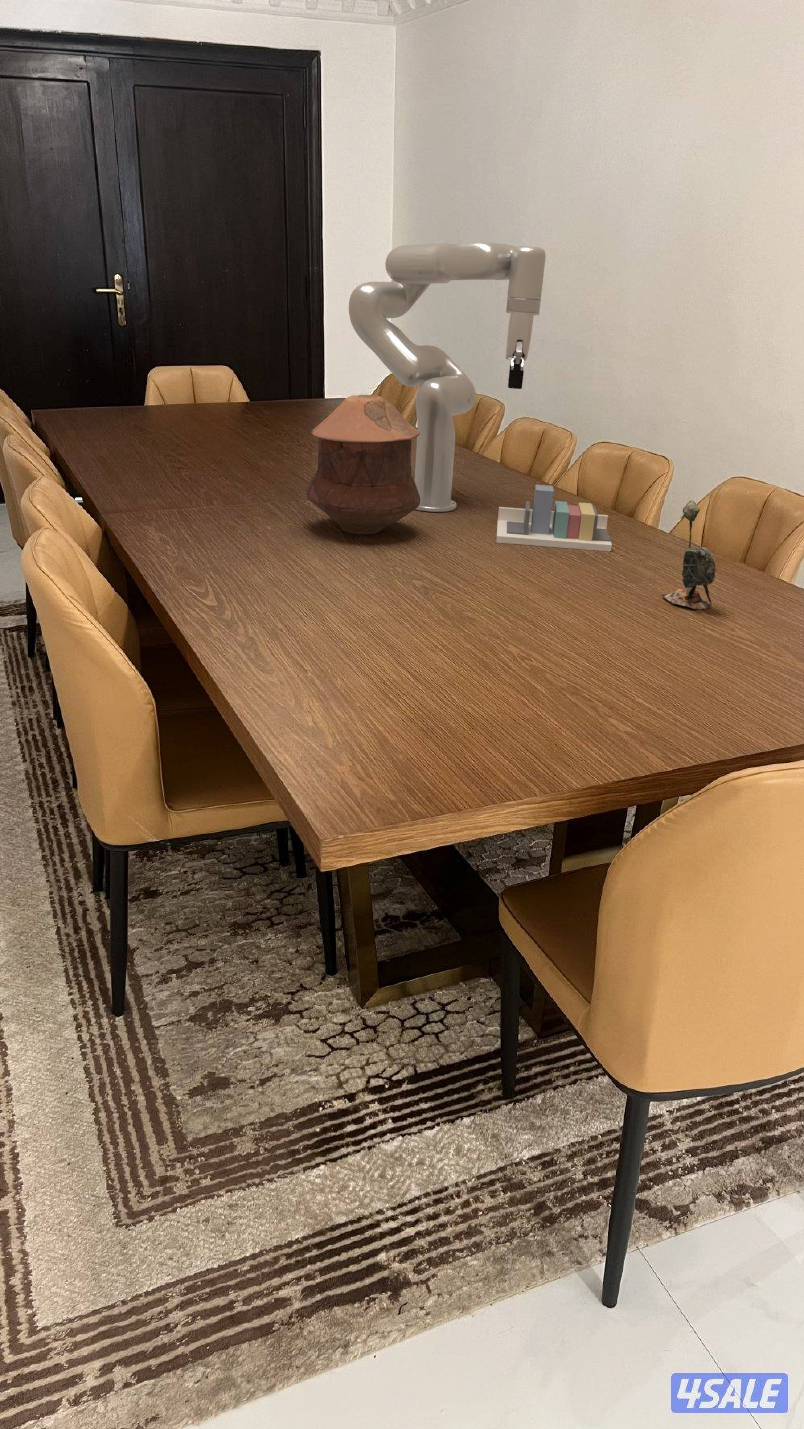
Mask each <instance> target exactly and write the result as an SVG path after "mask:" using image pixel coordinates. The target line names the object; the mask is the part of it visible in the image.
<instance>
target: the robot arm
mask: <svg viewBox="0 0 804 1429" xmlns="http://www.w3.org/2000/svg"><path fill="white" fill-rule="evenodd" d="M384 264H385V271H386V273H387V275H388V276H389V277H390V279H391V281H369V282H364V283H361V284H359V285H358V286H356V287H355V288H354V289H353V290H352V292H351V293H350V296H349V302H348V316H349V320H350V323H351V325H352V327H353V330H354V332H355V333H356V335H357V336H358V337H359V339H360V340H361V341H362V342H363V343H364V344H365V345H366V346H367V347H368V348H369V349H370V350H371V351H372V353H374V354H375V355H376V357H377V358H378V359H379V360H380V361H381V362H382V364H383V365H384V366H385V367H386V368H387V369H388V370H389V371H390V372H391V374H393V375H394V377H395V378H396V379H397V380H398V381H399V382H400V383H401V384H402V385H403V386H406V387H411V388H412V387H413V388H415V387H418V389H417V391H416V394H415V412H416V419H417V420H416V421H417V422H416V425H417V428H416V429H417V430H419V431H420V435H419V436H417V437H416V449H415V450H416V451H415V452H416V453H415V455H416V456H415V471H414V482H415V484H416V487H417V490H418V493H419V496H420V504H419V506H418V507H417V508H416V509H415V510H417V511H423V512H432V513H433V512H434V513H443V512H445V513H446V512H451V511H454V510H456V509H457V502H456V501H455V500H453V499H452V488H453V474H454V473H453V472H454V464H455V463H454V460H455V451H456V450H455V448H456V429H455V424H454V421H453V419H454V418H453V416H458V415H463V414H466V413H467V412H469V411H471V409H472V408H473V406H474V405H475V403H476V399H477V392H476V387H475V385H474V384H473V382H472V380H471V379H470V378H469V376H468V375H467V374H466V373H465V372H464V371H463V370H462V369H461V368H460V367H459V366H458V365H457V363H456V362H455V361H454V360H453V359H452V358H451V357H450V356H449V354H447V352H445V351H444V350H442V349H441V348H439V347H437V346H435V345H428V344H427V345H426V344H425V345H419V344H415V343H414V342H413V341H412V340H411V339H410V338H409V337H408V336H407V335H406V334H405V333H404V332H403V331H402V330H401V329H400V327H398V326H396V324H394V323H392V322H391V321H389V320H388V319H396V318H400V317H403V316H405V314H407V313H408V312H409V311H410V310H411V309H412V308H413V306H414V305H415V303H416V302H417V301H418V300H419V299H420V298H421V296H422V295H423V294H424V293H425V292H426V290H427V289H429V286H430V285H431V284H448V283H450V282H451V281H470V280H471V281H472V280H473V281H474V280H476V281H479V280H480V281H481V280H482V281H483V280H484V281H487V280H488V281H490V280H492V281H507V280H508V289H507V298H506V309H505V313H507V314H510V316H509V321H508V329H507V330H508V331H507V338H506V339H507V340H506V347H505V348H506V349H505V359H506V360H509V358H511V361H510V362H511V363H510V364H509V372H508V383H507V388H509V389H513V390H514V389H515V390H516V389H517V390H521V389H522V388H523V381H524V373H525V371H524V362H525V361H527V359H528V355H529V351H530V347H531V346H530V345H531V338H532V332H533V324H534V316H540V309H541V301H542V300H541V298H542V292H543V283H544V275H545V274H544V273H545V267H546V251H545V250H544V249H543V248H541V247H536V246H525V245H522V246H521V245H519V246H516V245H512V244H508V243H507V244H506V243H498V242H497V243H496V242H471V243H468V242H467V243H452V244H451V243H447V242H446V243H443V242H442V243H431V244H430V243H428V244H408V245H407V244H406V245H400V246H397V247H394V248H393V249H391V251H389V253H388V254H387V257H386V258H385V262H384Z"/></svg>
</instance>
